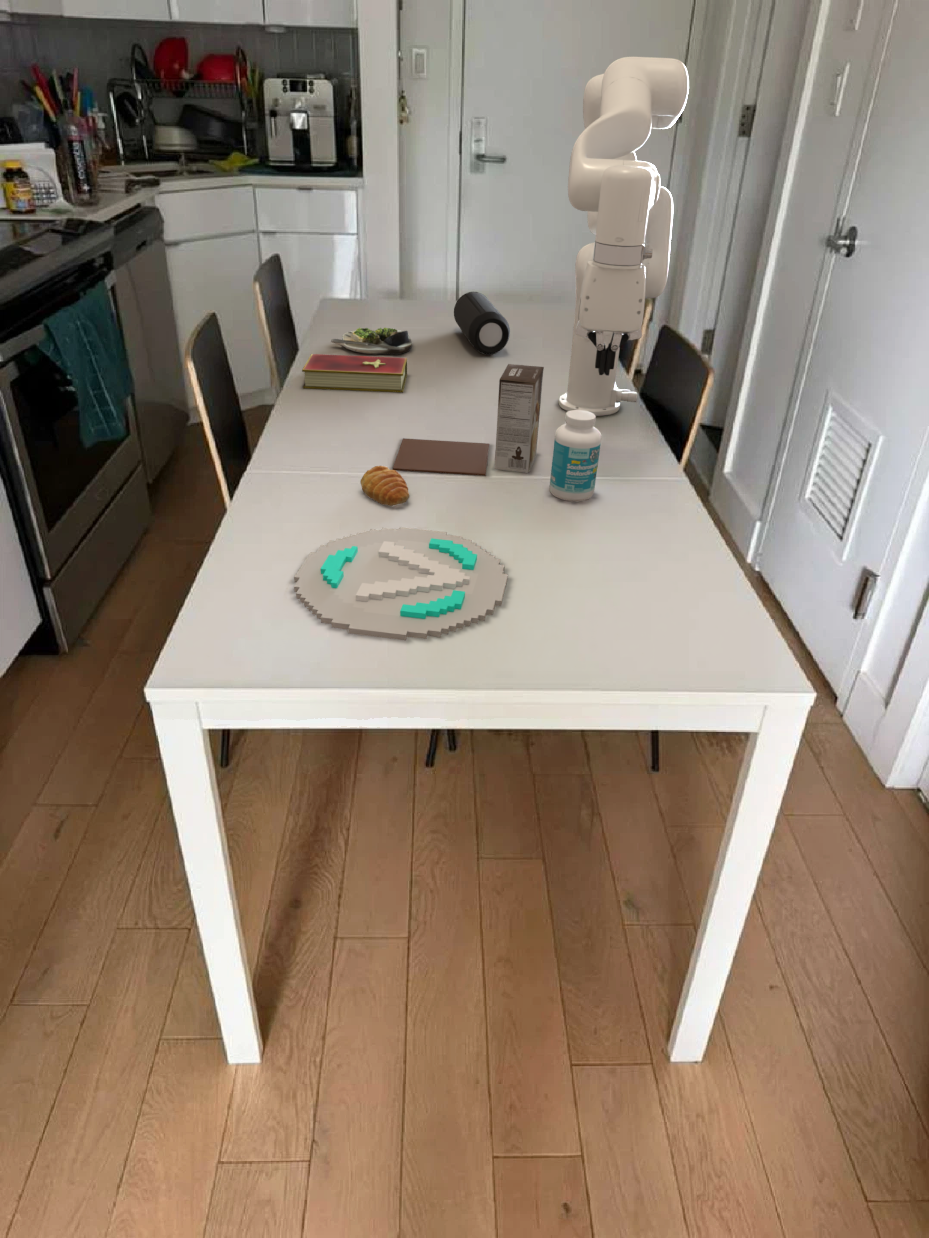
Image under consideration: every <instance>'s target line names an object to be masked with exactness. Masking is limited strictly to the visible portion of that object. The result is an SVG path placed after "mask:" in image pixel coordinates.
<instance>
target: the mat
mask: <svg viewBox="0 0 929 1238" xmlns="http://www.w3.org/2000/svg"><path fill="white" fill-rule="evenodd" d="M489 451H490V443H485V442H468V441H452V440H435V439H418V438H404V437H403V438H402V441H401V442H400V446H399V448H398V451H397V454H396V458H395V460H394V463H393V466H392V469H391V470H396V471H397V472H415V473H429V474H431V473H434V474H446V475H447V474H448V475H462V476H463V475H464V476H479V477H486V474H487V469H488V468H487V467H488V460H489Z"/></svg>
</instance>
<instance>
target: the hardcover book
mask: <svg viewBox="0 0 929 1238" xmlns="http://www.w3.org/2000/svg"><path fill="white" fill-rule="evenodd" d="M301 372H303V373H304V383H303V386H302V388H303V389H308V390H309V389H310V390H330V391H331V390H333V391H334V390H335V391H354V392H355V391H356V392H357V391H358V392H381V393H404V389H405V385H406V381H407V377H408V357H395V356H394V357H393V356H371V355H370V356H369V355H368V356H367V355H346V354H345V355H344V354H323V353H321V354H320V353H311V354H310V356H309V357H308V359H307V360H306V361H305V364H304V365H303V367H302V369H301Z"/></svg>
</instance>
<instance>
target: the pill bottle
mask: <svg viewBox="0 0 929 1238" xmlns="http://www.w3.org/2000/svg"><path fill="white" fill-rule="evenodd" d="M596 417H597V416H595V415H594V414H593V413H591V412H588V411H584V410H571V411H566V413H565V418H564V422H565V423H564V424H562V425H560V426H559V427H558V428H557V429H556V430H555V433H554V441H553V451H552V459H551V469H550V478H549V492H550V493H551V494H552V496H554V497H556V498H558V499H560V500H563V501H568V502H582V501H587V500H588V499H590V498H591V497H593V495H594V494H595V489H596V483H597V482H596V481H597V475H598V467H599V461H600V460H599V459H600V452H601V444H602V434H601V431H600V430H599V429H598V428H597V427H595V424H596Z"/></svg>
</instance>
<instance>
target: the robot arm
mask: <svg viewBox="0 0 929 1238" xmlns="http://www.w3.org/2000/svg"><path fill="white" fill-rule="evenodd" d="M689 89H690V79H689V73H688V69H687V67H686V65H685V64H684V62H682V61H681V60H679V59H677V58H672V57H651V56H624V57H620V58H618V59H616V60H614V61H613V62H611V63H610V64H609V65H608V66H607V68H606V69H605V70H604V72H603V73H601V74H597V75H595V76H593V77H591V78H590V79H589V80H588V81H587V82H586V85H585V87H584V91H583V99H582V118H583V126H584V130H583V131H582V132H581V133H580V134H579V135H578V137H577V138H576V140H575V142H574V144H573V147H572V149H571V152H570V158H569V167H568V168H569V169H568V176H567V177H568V178H567V198H568V200H569V203H570V204H571V207H573V208H574V209H575V210H577V211H581V212H587V215H586V216H587V217H586V218H587V228H588V230H589V232H590V233H591V234H593V235H594V236H595V237H594V238H595V239H594V240H595V241H594V242H590V243H588V244H585V245H584V246H582V247H581V248H580V249H579V251H578V252H577V255H576V258H575V264H574V272H575V273H574V276H575V305H574V320H573V322H574V323H573V330H572V331H573V332H572V340H571V350H570V358H569V359H570V360H569V361H570V362H569V371H568V380H567V390H566V392H565V393H563V394H561V395H560V396H559V397H558V405H559V407H560V408H561V409H562V410H564V411H566V412H568V411H571V410H584V411H588V412H591V413H593V414H594V415H595V416H596V417H602V416H609V415H613V414H616V413H617V412H618V411H619V410H620V409H621V408H620V407H621V402H630V403H637V398H638V392H636V391H631V390H630V389H625V388H624V389H620V388H619V387H617V383H616V379H617V371H618V363H619V356H620V349H621V347H622V346H623V345H624V344H625V343H626V342H629V341H635V340H639V339H641V338H642V337H643V332H642V326H643V322H644V312H645V303H646V299H657V298H658V297H661V295H662V294H663V292H664V290H665V288H666V285H667V281H668V277H669V276H668V275H669V267H670V257H671V255H670V254H671V242H672V241H671V240H672V230H673V219H674V200H673V196H672V194H671V193H672V192H670V191H669V189H668V188H666V187H664V186H661V175H660V174H659V172H658V170H657V168H656V166H655V165H654V164H652V163H651V162H648V161H642V160H638V158H637V155H636V151H637V150H639V149H640V148H641V147H643V146H644V145H645V143H646V142H647V140H648V139H649V137H650V135H651V132H652V129H653V130H661V129H662V130H665V129H669V128H671V127H672V126H674V124H675V123H676V122H677V120H678V119H679V117H680V116H681V114H682V113H683V111H684V110H685V107H686V104H687V101H688V95H689Z"/></svg>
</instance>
